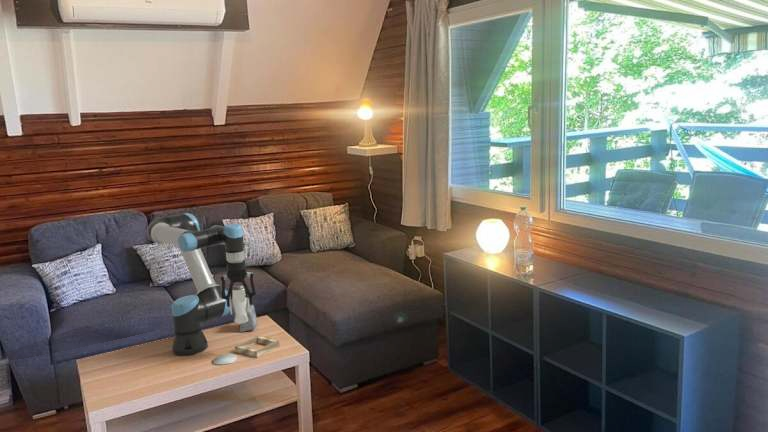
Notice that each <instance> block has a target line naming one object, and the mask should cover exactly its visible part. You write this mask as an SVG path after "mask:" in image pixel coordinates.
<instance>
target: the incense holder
mask: <svg viewBox="0 0 768 432" xmlns="http://www.w3.org/2000/svg"><path fill="white" fill-rule="evenodd" d="M255 310H256V309H255V306H254V304H250V312H249V313H248V305H247V317H248V322H246V323H242V324H239V326H240V327H239V330H240V333H244V332H248V331H253V330H255V329H256V327H257V325H258V318H257V314H256V311H255Z"/></svg>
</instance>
